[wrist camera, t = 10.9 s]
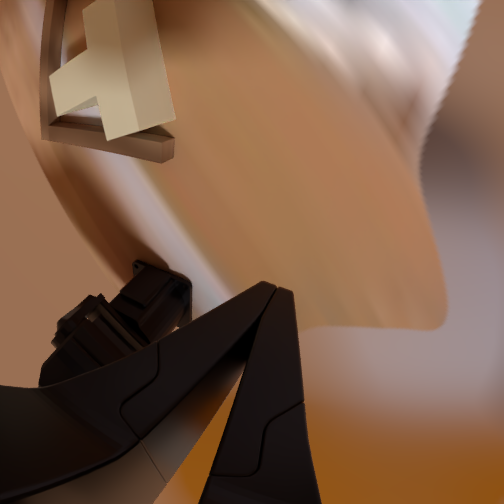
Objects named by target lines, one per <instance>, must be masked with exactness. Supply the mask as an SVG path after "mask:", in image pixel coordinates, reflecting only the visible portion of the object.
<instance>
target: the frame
mask: <svg viewBox="0 0 504 504" xmlns="http://www.w3.org/2000/svg"><path fill="white" fill-rule="evenodd" d="M66 3H67V0H47V1H46V7H45V14H44V22H43V31H42V41H41V55H40V123H41V138H42V140H48V141H54V142H60V143H65V144H71V145H76V146H81V147H87V148H92V149H97V150H102V151H107V152H112V153H116V154H121V155H126V156H130V157H135V158H139V159H144V160H148V161H152V162H157V163H163V162H166V161H168V160H170V159H172V158H173V157H174V139H175V138H172V137H166V136H161V135H155V134H149V133H143V132H134V133H131V134H128V135H124V136H121V137H118V138H115V139H112V140H109V141H107V139H106V135H105V131H104V127H102V126H94V125H86V124H77V123H67V122H60V116H58V117H57V114H56V109H55V105H54V100H53V95H52V90H51V84H50V79H49V76H50V75H51V74H53V73H54V72H55V71H57V70H58V69H59V68H60V60H61V45H62V34H63V25H64V17H65V10H66Z"/></svg>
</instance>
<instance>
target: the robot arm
mask: <svg viewBox="0 0 504 504" xmlns="http://www.w3.org/2000/svg"><path fill="white" fill-rule="evenodd" d="M132 266H133V274H134V277H133V278H132V279H131V280H130V281H129V282H128V283H127V284H126V285H125V286H124V287H123V288H122V289H121V290H120V293H119V294H118V295H117V296H116V297H115V298H114V299H113V300H112V301H111V302H110V303H108V302H107V301H106V300H105V297H104V296H103V295H102V294H101V293H100V294H99V295H98V296H97V297H94V296H92V295H89V296H88V297H86V299H84V300H83V301H82V302H81V303H80V304H79V305H78V306H76V307H75V308H74V309H73V310H71V311H70V312H69V313H67V314H66V315H65V316H63V317H62V318H61V319H60V320H59V321H58V322H57V332H56V333H55V337H54V339H53V340H52V341H51V344H52V345H53V346H54V347H55V348H56V350H55V351H54V352H53V353H52V354H51V356H50V357H49V358H48V359H47V360H46V361H45V362H44V363H43V365H42V367H41V373H40V378H39V387H38V388H22V387H12V386H3V385H0V504H153V502H154V501H155V500H156V498H157V497H158V496H159V494H160V493H161V492H162V490H163V489H164V487H165V486H166V485H167V484H166V483H168V482H169V481H170V479H171V478H172V476H173V475H174V474H175V472H176V471H177V469H178V468H179V467H180V465H181V464H182V462H183V461H184V459H185V458H186V457H187V455H188V454H189V452H190V451H191V450H192V448H193V447H194V445H195V444H196V442H197V441H198V439H199V438H200V436H201V435H202V433H203V432H204V431H205V429H206V428H207V426H208V425H209V423H210V422H211V420H212V418H213V417H214V415H215V414H216V413H217V411H218V409H219V408H220V406H221V405H222V403H223V402H224V400H225V399H226V397H227V396H228V394H229V393H230V391H231V389H232V388H233V386H234V385H235V383H236V382H237V380H238V378H239V377H240V375H241V374H242V372H243V374H242V378H241V381H240V384H239V387H238V390H237V393H236V396H235V399H234V402H233V405H232V408H231V411H230V414H229V418H228V420H227V423H226V426H225V429H224V432H223V435H222V438H221V441H220V444H219V447H218V450H217V453H216V456H215V458H214V461H213V464H212V467H211V470H210V473H209V477H208V478H207V481H206V484H205V487H204V490H203V492H202V495H201V497H200V500H199V503H198V504H322V503H321V499H320V494H319V489H318V484H317V480H316V476H315V471H314V466H313V461H312V457H311V451H310V445H309V440H308V431H307V423H306V412H305V404H304V403H303V402H304V390H303V379H302V369H301V358H300V349H299V340H298V329H297V320H296V311H295V302H294V294H293V292H292V291H291V290H288V289H285V288H282V287H278V288H277V286H276V285H274V284H271V283H268V282H266V281H261V282H259V283H257V284H256V285H254V286H252V287H250V288H249V289H247V290H245V291H244V292H242V293H240V294H238V295H237V296H235V297H233V298H232V299H230V300H228V301H226V302H225V303H223V304H221V305H219V306H218V307H216V308H214V309H212V310H211V311H209V312H207V313H205V314H204V315H202V316H200V317H198V318H197V319H195V320H193V321H192V284H191V283H190V282H189V281H187V280H184V279H182V278H179V277H177V276H175V275H172V274H170V273H167V272H165V271H163V270H160V269H158V268H156V267H153V266H151V265H149V264H146V263H144V262H142V261H139V260H135V261H134V262H133V263H132ZM186 286H187V287H186ZM87 318H88V319H87ZM176 326H177V327H179V329H177V330H176V331H173V330H174V329H175V327H176ZM172 331H173V332H172ZM171 332H172V333H171Z"/></svg>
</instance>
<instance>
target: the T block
mask: <svg viewBox="0 0 504 504" xmlns="http://www.w3.org/2000/svg"><path fill="white" fill-rule="evenodd" d="M82 13H83V21H84V29H85V36H86V43H87V50H85V51H84V52H82V53H81V54H79V55H78V56H76V57H75V58H73V59H72V60H70V61H69V62H68V63H66V64H65V65H63V66H62V67H61V68H59V69H58V70H57V71H55V72H54V73H53V74H51V75H50V76H49V79H50V84H51V90H52V95H53V100H54V105H55V109H56V114H57V117H58V116H61V115H64V114H68V113H71V112H74V111H78V110H82V109H85V108H89V107H93V106H95V105H98V106H99V110H100V114H101V119H102V123H103V127H104V131H105V135H106V139H107V141H109V140H112V139H115V138H118V137H121V136H124V135H128V134H131V133H134V132H138V131H141V130H144V129H147V128H150V127H153V126H156V125H160V124H163V123H166V122H169V121H173V120H176V117H175V112H174V108H173V103H172V99H171V94H170V89H169V85H168V80H167V75H166V70H165V65H164V60H163V55H162V50H161V45H160V40H159V34H158V29H157V23H156V18H155V12H154V6H153V1H152V0H96V1H94V2H93V3H91V4H90V5H89V6H87V7H86V8H84V9H83V10H82Z"/></svg>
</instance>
